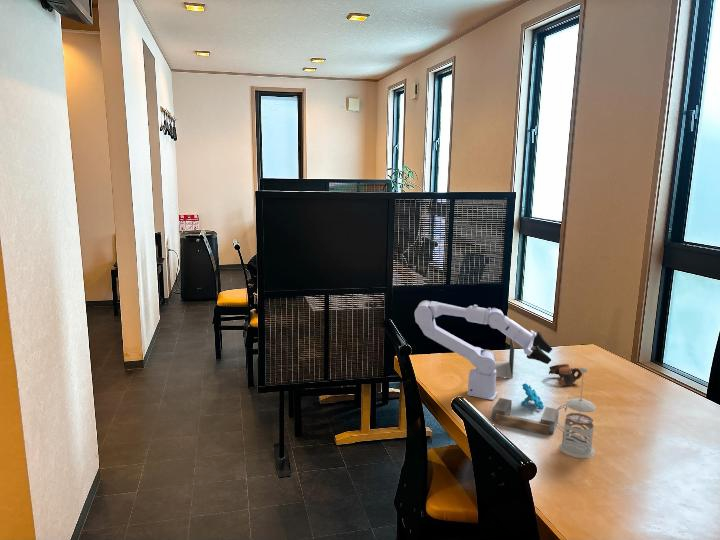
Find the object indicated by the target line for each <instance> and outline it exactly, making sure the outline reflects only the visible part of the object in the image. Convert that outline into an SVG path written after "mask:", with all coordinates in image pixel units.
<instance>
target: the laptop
mask: <svg viewBox="0 0 720 540" xmlns="http://www.w3.org/2000/svg"><path fill="white" fill-rule="evenodd" d="M509 339H510V338H509ZM509 342H510V343H509V358H508V361H499V360H498V361H497V360H495V365H496V367H495V370H496V378H498V377H503V378H502V379H510V378H512V379H513V377H514V376H513V375H514V362H515V345H514V341H513V340H512V339H510V341H509ZM504 377H506V378H504Z"/></svg>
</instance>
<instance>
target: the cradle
mask: <svg viewBox="0 0 720 540" xmlns="http://www.w3.org/2000/svg"><path fill="white" fill-rule="evenodd" d="M512 402H513V400H511V399H507V398H503V397H499V398H498V400H497V402H496V403H495V404H494V406H493V408H491V410H492V411H491V421H492V422H494V423H495V424H497V425H501V426H505V427H510V428H514V429H519V430H524V431H527V432H532V433H537V434H542V435H544V436H545V435H546V436H548V434H552V435H553V434H554V433H555V430H556V427H557V426H556V424H557V421H558V422H559V414H560V413H559V411H560V409H559V410H558V411H557V409H558V408H554V407H548V406H546V407H544V411H543V413H542V415H541V417H540V421H538V420H534V419H533V420H532V419H528V418H523V417H518V416H513V415H510V414H511V412H512V405H513V404H512ZM556 411H557V414H556V417H555V421H556V418H557V421H556V424H555V421H554V415H555V413H556ZM557 425H558V424H557Z"/></svg>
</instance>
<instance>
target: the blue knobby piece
mask: <svg viewBox="0 0 720 540" xmlns="http://www.w3.org/2000/svg"><path fill="white" fill-rule="evenodd" d="M521 386H522V390H523V391H524V392H525V395H526V397H524V400H523V401H521V402H520V403H521V405H522V406H524V405H526V404H527V403H528V402H529V401H530V402H534V403H533V404H534V405H535V407H538V409H540V410H542V409H543V408H545V406H544V402H543V401H542V400H541V397H540V396H539V395H538V394H537V392H536V390H535V389H532V386H531V385H528V384H527V383H523V384H521Z"/></svg>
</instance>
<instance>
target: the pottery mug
mask: <svg viewBox="0 0 720 540" xmlns="http://www.w3.org/2000/svg"><path fill="white" fill-rule="evenodd" d="M576 373H577V375H576V376H575V374H576ZM548 375H558V376H559V377H560V378H562V379H558V384H559V387H563V386H564V387H565V386H574V383H575V382H576V381H577V380H580V379H581V378H582V377H583V372H580V368H577V367H573V368H571V367H570V365H569V364H567V363H563V364H555V365H551V366H550V367H549V371H548Z"/></svg>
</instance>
